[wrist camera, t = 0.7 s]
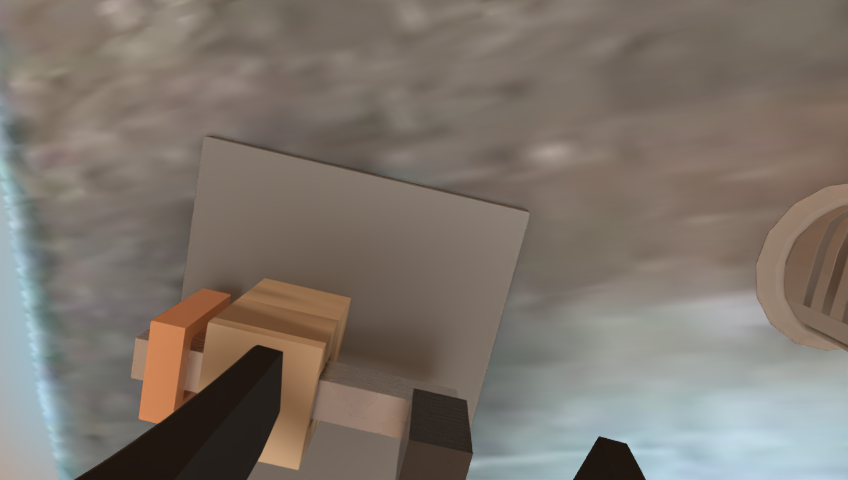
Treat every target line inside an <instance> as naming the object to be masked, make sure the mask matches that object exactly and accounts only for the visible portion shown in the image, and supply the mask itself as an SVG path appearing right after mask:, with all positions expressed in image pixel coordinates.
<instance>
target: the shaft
mask: <svg viewBox="0 0 848 480" xmlns="http://www.w3.org/2000/svg"><path fill="white" fill-rule="evenodd" d="M149 334H150V329H149V330H147V331H146V332H144V333H143V334H141V335H140V336H138V337H136V341H135V349H134V357H133V365H132V373H131V378H134V379H138V380H144V373H145V365H146V357H147V349H148V341H149ZM205 339H206V332H201V331H200V332H199V333H198V334H197V335H195V336H194V337H193V338H192V341H191V348H190V355H189V362H188V369H187V376H186V382H185V389H184V390H187V391H191V392H196V393H197V391H198V385H199V378H200V372H201V365H202V358H203V352H204V345H205ZM311 419H315V420H320V421H324V422H329V423H333V424H337V425H342V426H346V427H351V428H355V429H359V430H364V431H368V432H373V433H377V434H382V435H386V436H390V437H395V438H399V439H401V442H400V446H399V454H398V462H397V470H396V478H395V480H466V476H467V473H468V469H469V466H470V462H471V458H472V455H473V451H472V442H471V433H470V424H469V415H468V406H467V400H464V399H460V398H458V390H455V389H451V388H447V387H442V386H438V385H434V384H429V383H425V382H420V381H416V380H412V379H407V378H403V377H399V376H394V375H390V374H385V373H381V372H377V371H372V370H368V369H363V368H359V367H355V366H350V365H346V364H342V363H337V362H333V361H328V360H327V362H326V364H325V366H324V368H323V370H322V372H321V374H320V376H319V381H318V385H317V390H316V395H315V400H314V405H313V410H312V415H311Z"/></svg>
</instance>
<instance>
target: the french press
mask: <svg viewBox="0 0 848 480" xmlns="http://www.w3.org/2000/svg"><path fill="white" fill-rule="evenodd" d="M756 279H757V298H758V300H759V302H760V304H761V306H762V307H763V309H764V311H765V313H766V315H767V317H768V319H769V321H770V323H771V325H773V326H774V327H775V328H777V329H778V330H779V331H781V332H782V333H783V334H785V335H786V336H787V337H789V338H790V339H791V340H793V341H794V342H795V343H798V344H803V345H807V346H811V347H815V348H819V349H823V350H834V349H844V350H846V351H848V183H847V184H841V185H834V186H827V187H825V188H823V189H821V190H819V191H817V192H816V193H814V194H812V195H810V196H808V197H806V198H805V199H803V200H801V201H799V202H797V203H795V204H794V205H793V206H792V207H791V208H790V209H789V210H788V211H787V212H786V213H785V215H784V216H783V217H782V218H781V219H780V220H779V221H778V222H777V223H776V225H775V226H774V227H773V228H772V229H771V230H770V231H769V233H768V235H767V238H766V240H765V243H764V245H763V248H762V251H761V253H760V256H759V258H758V261H757V264H756Z"/></svg>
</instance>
